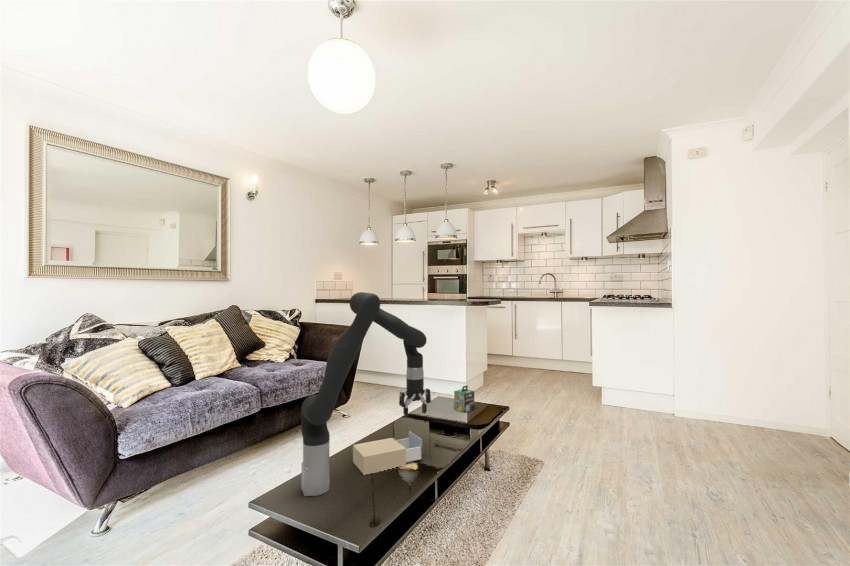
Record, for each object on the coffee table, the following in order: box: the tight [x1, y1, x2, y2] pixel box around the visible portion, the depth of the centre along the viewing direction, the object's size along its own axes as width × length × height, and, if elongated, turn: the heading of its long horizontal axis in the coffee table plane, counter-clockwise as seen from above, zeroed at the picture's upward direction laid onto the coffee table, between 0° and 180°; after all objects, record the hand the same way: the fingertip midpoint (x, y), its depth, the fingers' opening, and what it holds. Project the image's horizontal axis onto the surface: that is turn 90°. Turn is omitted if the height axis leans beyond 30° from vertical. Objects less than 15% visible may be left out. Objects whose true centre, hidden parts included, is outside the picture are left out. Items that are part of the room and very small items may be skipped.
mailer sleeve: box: [352, 437, 407, 476], centre depth 163 cm, size 18×14×7 cm
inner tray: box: [395, 430, 423, 463], centre depth 165 cm, size 25×12×8 cm, turn 118°
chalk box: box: [453, 384, 475, 413], centre depth 240 cm, size 9×9×15 cm
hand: (415, 414), depth 171 cm, fingers open, 8 cm apart
